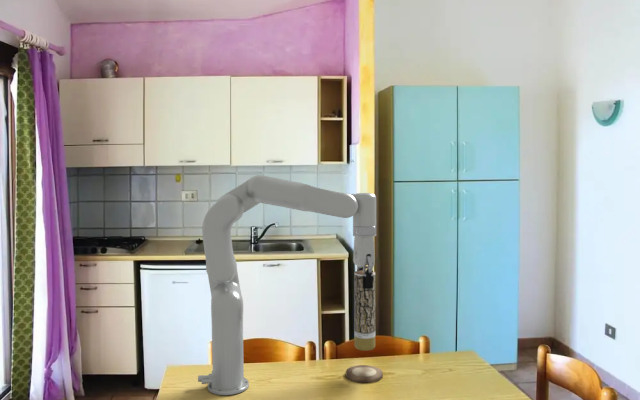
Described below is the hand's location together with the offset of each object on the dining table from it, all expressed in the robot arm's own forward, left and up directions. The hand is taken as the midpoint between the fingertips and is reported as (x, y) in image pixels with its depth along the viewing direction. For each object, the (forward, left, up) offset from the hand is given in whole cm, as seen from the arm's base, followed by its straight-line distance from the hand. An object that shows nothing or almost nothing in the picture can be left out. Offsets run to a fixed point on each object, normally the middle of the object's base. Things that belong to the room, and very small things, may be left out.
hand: (364, 285), depth 173 cm
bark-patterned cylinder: (0, 0, -21) cm, 21 cm away
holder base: (0, 0, -30) cm, 30 cm away
